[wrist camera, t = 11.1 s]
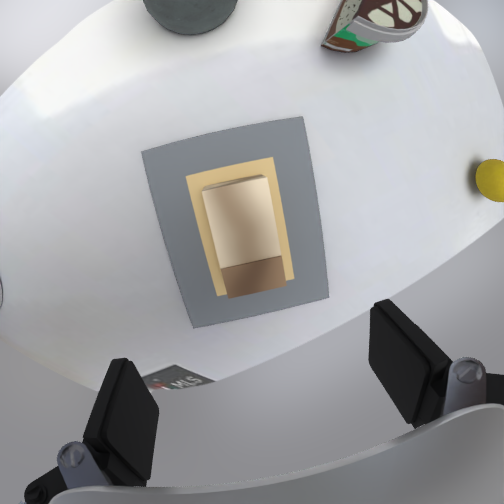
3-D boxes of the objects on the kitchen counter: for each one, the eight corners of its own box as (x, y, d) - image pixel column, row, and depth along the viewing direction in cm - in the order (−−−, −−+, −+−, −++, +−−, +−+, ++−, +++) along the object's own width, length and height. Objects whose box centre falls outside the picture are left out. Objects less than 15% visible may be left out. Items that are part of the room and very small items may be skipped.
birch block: (260, 173, 27) (267, 177, 23) (278, 268, 31) (286, 285, 27) (204, 186, 27) (201, 191, 23) (227, 279, 31) (228, 298, 27)
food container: (366, 83, 26) (420, 64, 16) (316, 56, 24) (356, 20, 15) (392, 10, 22) (439, -18, 13) (348, -15, 21) (386, -55, 12)
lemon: (475, 203, 32) (515, 217, 24) (459, 175, 30) (503, 185, 22) (491, 176, 30) (530, 186, 23) (476, 148, 29) (518, 154, 21)
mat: (193, 326, 33) (193, 329, 32) (142, 151, 26) (140, 151, 25) (327, 295, 33) (329, 297, 33) (301, 117, 26) (303, 116, 26)
